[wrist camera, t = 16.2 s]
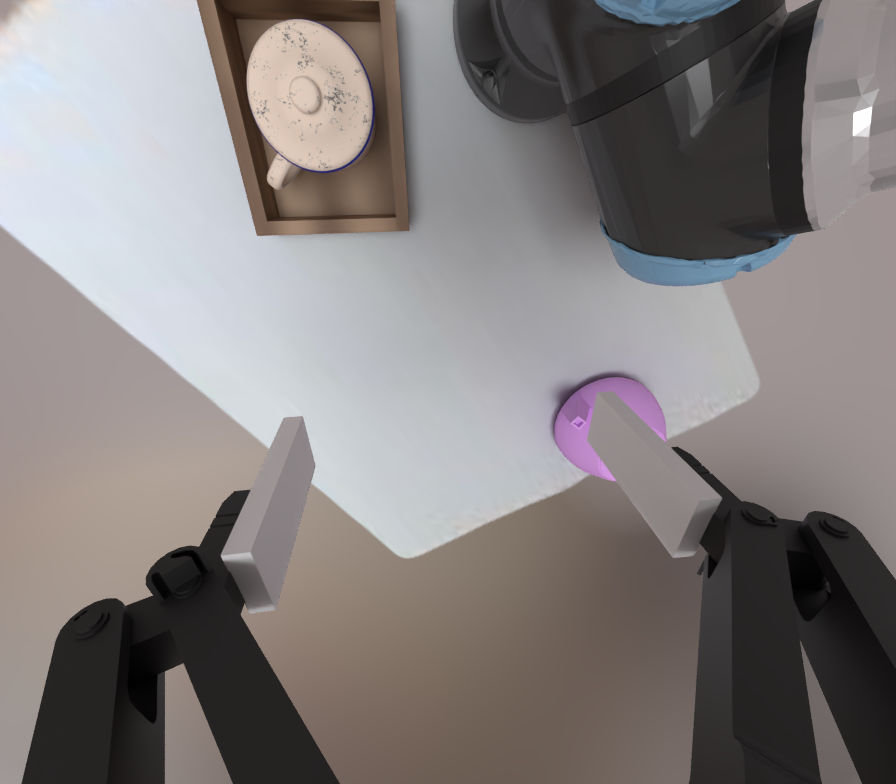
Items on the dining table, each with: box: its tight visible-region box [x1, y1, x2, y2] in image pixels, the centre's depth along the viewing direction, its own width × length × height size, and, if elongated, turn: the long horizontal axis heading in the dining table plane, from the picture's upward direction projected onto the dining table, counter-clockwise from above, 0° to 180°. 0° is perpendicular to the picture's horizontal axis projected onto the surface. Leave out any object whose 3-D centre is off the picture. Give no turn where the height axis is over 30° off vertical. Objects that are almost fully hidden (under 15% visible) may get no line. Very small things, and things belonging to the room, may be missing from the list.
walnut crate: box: [197, 0, 409, 236], centre depth 34 cm, size 14×17×6 cm
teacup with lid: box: [246, 19, 376, 190], centre depth 30 cm, size 12×9×12 cm
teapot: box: [554, 377, 666, 481], centre depth 53 cm, size 22×16×12 cm
